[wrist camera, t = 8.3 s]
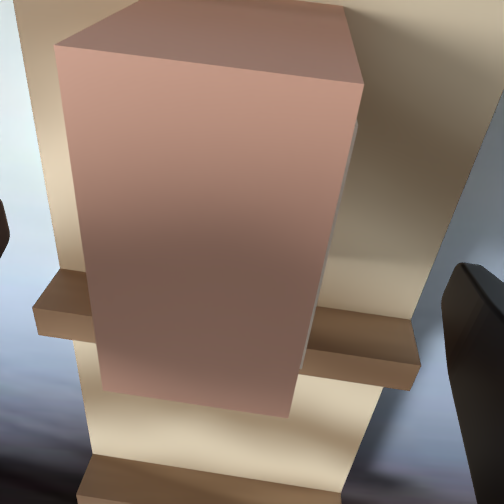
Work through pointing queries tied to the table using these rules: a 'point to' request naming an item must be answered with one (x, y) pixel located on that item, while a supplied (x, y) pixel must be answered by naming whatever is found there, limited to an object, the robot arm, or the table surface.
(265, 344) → the frame block
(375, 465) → the table surface
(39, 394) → the table surface
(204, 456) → the ledge
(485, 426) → the robot arm
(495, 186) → the table surface
